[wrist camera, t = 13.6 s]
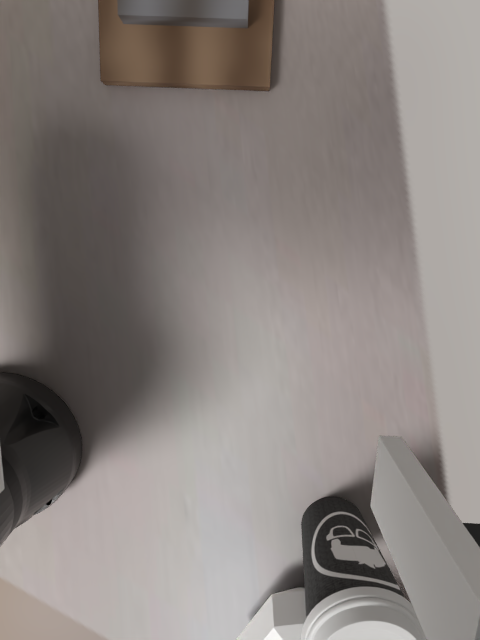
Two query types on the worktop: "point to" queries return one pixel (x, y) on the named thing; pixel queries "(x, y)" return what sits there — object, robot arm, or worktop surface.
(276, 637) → the crystal
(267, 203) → the worktop surface
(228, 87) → the board
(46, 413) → the robot arm
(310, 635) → the coffee cup
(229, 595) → the worktop surface
